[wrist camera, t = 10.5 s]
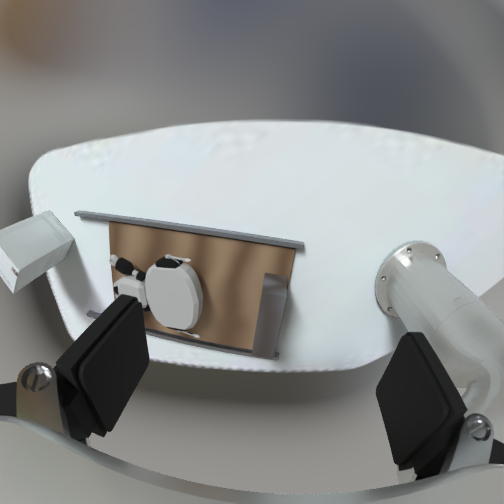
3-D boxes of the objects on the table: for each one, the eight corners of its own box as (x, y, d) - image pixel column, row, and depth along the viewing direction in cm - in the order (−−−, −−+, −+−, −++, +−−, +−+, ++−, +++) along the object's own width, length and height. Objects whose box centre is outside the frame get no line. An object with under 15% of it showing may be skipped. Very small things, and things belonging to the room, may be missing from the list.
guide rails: (303, 242, 37) (304, 244, 35) (278, 355, 44) (277, 360, 42) (78, 210, 38) (74, 212, 37) (90, 312, 45) (87, 315, 44)
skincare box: (41, 230, 41) (-14, 258, 27) (51, 207, 39) (-10, 231, 25) (66, 261, 42) (12, 296, 28) (77, 238, 40) (17, 272, 26)
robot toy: (131, 311, 44) (210, 324, 42) (117, 325, 40) (201, 341, 37) (117, 245, 40) (204, 249, 37) (100, 255, 36) (192, 261, 33)
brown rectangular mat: (295, 248, 37) (297, 266, 31) (273, 351, 43) (271, 378, 37) (110, 220, 38) (85, 232, 32) (118, 317, 45) (100, 337, 39)
